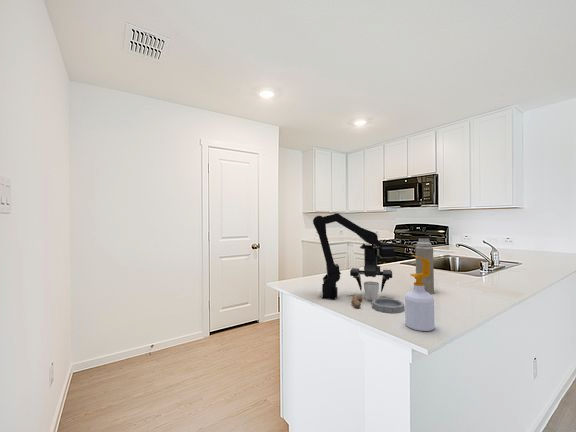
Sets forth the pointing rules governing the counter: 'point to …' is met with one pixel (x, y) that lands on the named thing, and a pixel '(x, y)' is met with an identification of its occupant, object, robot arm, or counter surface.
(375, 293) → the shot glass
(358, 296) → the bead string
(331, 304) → the counter surface
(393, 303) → the tray
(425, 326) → the soap bottle
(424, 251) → the thermos bottle
